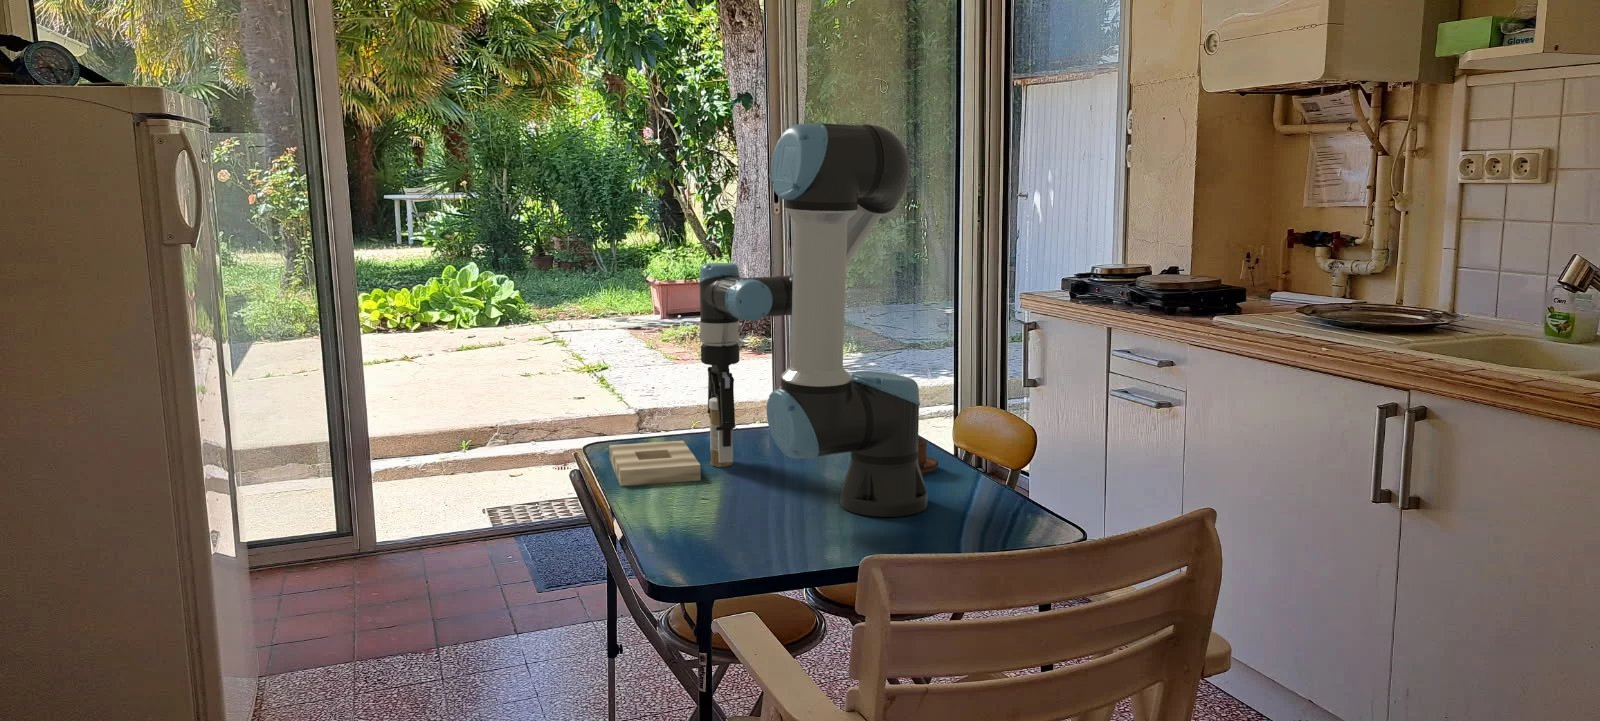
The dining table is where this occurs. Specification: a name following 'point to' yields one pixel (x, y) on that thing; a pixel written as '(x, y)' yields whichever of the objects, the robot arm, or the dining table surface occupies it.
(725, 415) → the robot arm
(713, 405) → the sprinkles bottle
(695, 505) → the dining table surface
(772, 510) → the dining table surface
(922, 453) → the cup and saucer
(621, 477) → the socket plate
